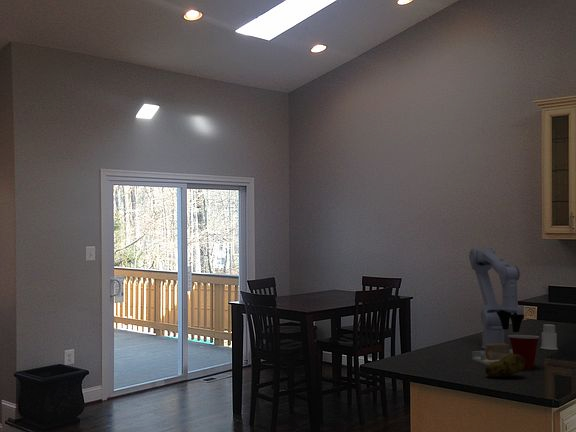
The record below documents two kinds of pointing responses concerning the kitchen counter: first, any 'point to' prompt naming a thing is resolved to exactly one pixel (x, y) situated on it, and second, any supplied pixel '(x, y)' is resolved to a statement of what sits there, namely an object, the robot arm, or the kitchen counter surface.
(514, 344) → the plastic cup
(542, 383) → the kitchen counter surface
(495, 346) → the brown tapered block
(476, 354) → the board
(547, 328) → the white threaded pipe fitting
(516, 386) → the kitchen counter surface
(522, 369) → the potato
